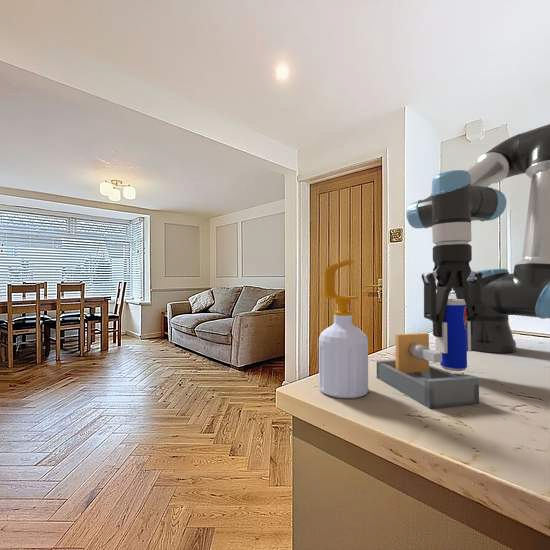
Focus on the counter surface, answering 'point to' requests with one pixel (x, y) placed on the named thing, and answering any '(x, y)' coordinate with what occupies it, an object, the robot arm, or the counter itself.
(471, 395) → the grey tray
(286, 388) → the counter surface
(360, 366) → the soap bottle
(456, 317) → the beverage can
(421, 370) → the pusher
